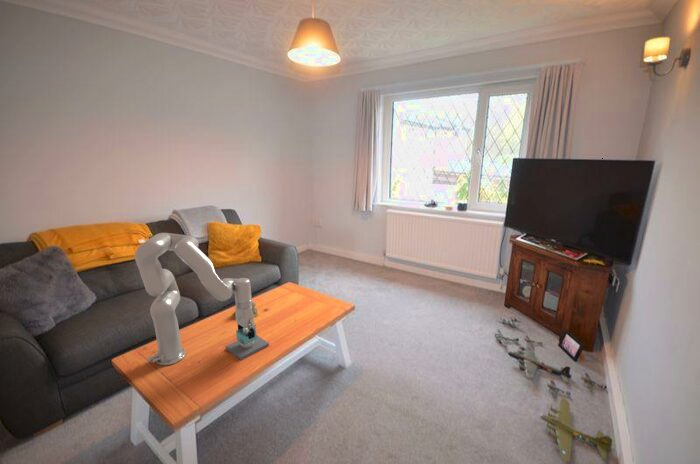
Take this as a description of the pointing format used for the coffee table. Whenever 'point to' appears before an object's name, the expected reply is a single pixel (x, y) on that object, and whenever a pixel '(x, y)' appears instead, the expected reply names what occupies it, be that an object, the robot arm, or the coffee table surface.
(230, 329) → the coffee table surface
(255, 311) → the ceramic model
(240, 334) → the collar
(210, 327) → the coffee table surface
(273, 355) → the coffee table surface
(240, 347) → the post plate
